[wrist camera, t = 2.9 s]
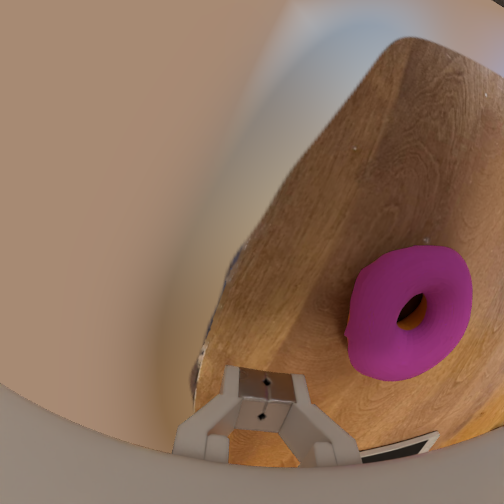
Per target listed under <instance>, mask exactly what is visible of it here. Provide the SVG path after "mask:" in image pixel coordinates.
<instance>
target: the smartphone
mask: <svg viewBox="0 0 504 504" xmlns="http://www.w3.org/2000/svg"><path fill="white" fill-rule="evenodd" d="M439 436H440V434H439V432H438V431H436V432H433V433H430V434H427V435H424V436H421V437H417V438H414V439H411V440H407V441H404V442H400V443H396V444H393V445H389V446H384V447H380V448H376V449H371V450H366V451H361V452H359V453H360V456H361V459H362V463H363V464H365V463H373V462H379V461H386V460H392V459H397V458H402V457H407V456H412V455H416V454H421V453H425V452H428V451H429V449H430V448H431V447H432V445H433V444H434V443H435V441H436V440H437V439H438V437H439Z"/></svg>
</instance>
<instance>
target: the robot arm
mask: <svg viewBox="0 0 504 504" xmlns="http://www.w3.org/2000/svg"><path fill="white" fill-rule="evenodd" d="M234 429H244V430H256V431H264V432H274V433H278V434H279V435H280V437H281V438H282V439H283V441H284V442H285V443H286V445H287V446H288V447H289V449H290V450H291V451H292V453H293V454H294V455H295V456H296V458H297V459H298V460H299V462H300V465H299V466H298V467H297V468H280V467H260V466H247V465H237V464H228V456H229V439H228V438H227V437H228V435H229V434H230V433H231V432H232V431H233V430H234ZM0 504H504V426H502V427H499V428H497V429H495V430H492V431H490V432H487V433H485V434H482V435H480V436H477V437H474V438H472V439H469V440H466V441H463V442H460V443H457V444H454V445H450V446H447V447H444V448H440V449H437V450H433V451H429V452H425V453H421V454H416V455H412V456H407V457H402V458H397V459H392V460H386V461H379V462H373V463H365V464H363V463H362V459H361V456H360V453H359V450H358V447H357V444H356V440H355V439H354V438H353V437H351V436H350V435H349V434H348V433H347V432H345V431H344V430H343V429H342V428H341V427H340V426H339V425H337V424H336V423H335V422H334V421H333V420H332V419H331V418H329V417H328V416H327V415H326V414H325V413H324V412H323V411H322V410H320V409H319V408H318V407H317V406H316V405H315V404H311V401H310V397H309V393H308V388H307V384H306V380H305V376H304V375H303V374H287V373H277V372H269V371H262V370H255V369H249V368H243V367H236V366H231V365H225V369H224V374H223V378H222V383H221V388H220V394H218V395H217V396H216V397H214V398H213V399H212V400H211V401H210V402H208V403H207V404H206V405H205V406H203V407H202V408H201V409H200V410H198V411H197V412H196V413H195V414H193V415H192V416H191V417H189V418H188V419H187V420H186V421H184V422H183V423H182V424H180V425H179V426H178V429H177V433H176V437H175V442H174V446H173V450H172V454H170V453H166V452H162V451H158V450H154V449H150V448H146V447H143V446H139V445H136V444H132V443H129V442H126V441H122V440H120V439H117V438H114V437H111V436H108V435H105V434H102V433H99V432H97V431H94V430H92V429H89V428H87V427H84V426H82V425H79V424H77V423H75V422H72V421H70V420H68V419H66V418H63V417H61V416H59V415H57V414H55V413H53V412H51V411H49V410H47V409H45V408H43V407H41V406H39V405H37V404H35V403H33V402H32V401H30V400H28V399H26V398H24V397H23V396H21V395H19V394H17V393H16V392H14V391H12V390H11V389H9V388H8V387H6V386H4V385H3V384H1V383H0Z"/></svg>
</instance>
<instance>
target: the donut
mask: <svg viewBox="0 0 504 504" xmlns="http://www.w3.org/2000/svg"><path fill="white" fill-rule="evenodd" d="M420 293H423V297H422V300H421V303H420V304H419V306H418V307H417V308H416V309H415V311H414V312H412V313H411V314H410V315H409V316H407V317H406V318H404V319H403V320H401V321H399V322H397V318H398V316H399V314H400V311H401V309H402V308H403V307H404V306H405V304H406V303H407V302H408V301H409V300H410V299H411V298H412V297H413V296H415V295H417V294H420ZM471 308H472V281H471V276H470V272H469V269H468V267H467V265H466V262H465V261H464V260H463V258H462V257H461V256H460V254H459V253H457V252H456V251H455V250H453V249H451V248H448V247H443V246H432V245H424V246H417V245H414V246H413V247H408V248H403V249H399V250H394V251H391V252H388V253H386V254H383V255H382V256H380V257H379V258H378V259H377V260H375V261H374V262H373V263H372V264H370V265H368V266H366V267H365V268H363V269H362V270H361V271H360V273H359V275H358V277H357V279H356V281H355V285H354V289H353V292H352V295H351V300H350V311H349V316H348V321H347V327H346V330H345V333H344V335H345V336H346V337H347V341H348V355H349V359H350V362H351V364H352V366H353V367H354V368H355V369H356V370H357V371H358V372H360V373H362V374H363V375H366V376H369V377H372V378H375V379H378V380H383V381H400V380H405V379H409V378H412V377H415V376H417V375H420V374H422V373H424V372H426V371H427V370H429V369H431V368H432V367H434V366H435V365H437V364H438V363H439V362H440V361H442V360H443V359H444V358H445V357H446V356H447V355H448V354H449V353H450V352H451V351H452V350H453V349H454V348H455V346H456V345H457V344H458V343H459V341H460V340H461V338H462V336H463V335H464V333H465V330H466V328H467V326H468V322H469V319H470V314H471Z"/></svg>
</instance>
